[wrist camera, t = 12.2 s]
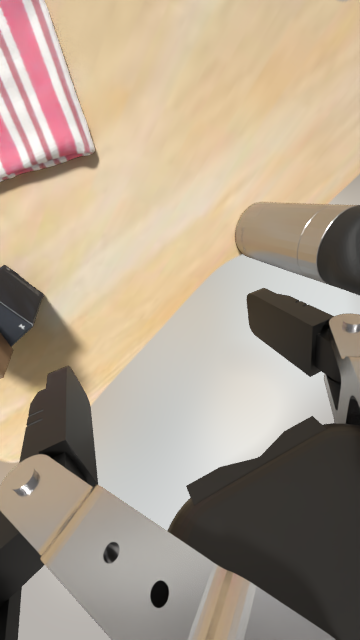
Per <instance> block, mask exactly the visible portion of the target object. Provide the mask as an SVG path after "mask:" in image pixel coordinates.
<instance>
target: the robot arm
mask: <svg viewBox="0 0 360 640" xmlns="http://www.w3.org/2000/svg"><path fill="white" fill-rule="evenodd" d="M235 237H236V244H237V246H238V249H239V250H240V251H241V253H242V254H244V255H245V256H247V257H250V258H253V259H256V260H259V261H261V262H264V263H267V264H270V265H273V266H276V267H279V268H282V269H284V270H287V271H290V272H293V273H296V274H299V275H302V276H305V277H308V278H311V279H314V280H317V281H320V282H323V283H326V284H329V285H332V286H335V287H338V288H341V289H344V290H346V291H349V292H352V293H355V294H358V295H360V205H330V204H300V203H273V202H259V203H255V204H253V205H251V206H250V207H248V208H247V209H246V210H245V211H244V213H243V214H242V215H241V217H240V219H239V221H238V224H237V227H236V233H235ZM247 308H248V318H249V325H250V328H251V330H252V332H253V333H254V335H255V336H257V337H258V338H259V339H261V340H262V341H263V342H265V343H266V344H267V345H269V346H270V347H271V348H273V349H274V350H275V351H277V352H278V353H279V354H281V355H282V356H283V357H285V358H286V359H287V360H289V361H290V362H291V363H293V364H294V365H295V366H297V367H298V368H299V369H301V370H302V371H303V372H305V373H306V374H307V375H308V376H310V377H311V376H313V375H315V374H317V373H318V372H320V371H322V372H323V373H325V375H324V381H325V385H326V389H327V393H328V397H329V401H330V405H331V409H332V412H333V416H334V422H335V423H333V424H324V425H322V424H320V423H319V422H318V421H317V420H316V419H315V418H314V417H313V416H311V417H310V418H308V419H306V420H304V421H302V422H301V423H299V424H297V425H295V426H293V427H292V428H290V429H288V430H286V431H284V432H283V433H282V434H281V435H280V436H279V438H278V439H277V440H276V441H275V442H274V443H273V444H272V445H271V446H270V447H269V448H268V449H267V450H266V451H265V452H264V453H263V454H262V455H261V456H260V457H258V458H255V459H251V460H247V461H244V462H239V463H235V464H231V465H228V466H223V467H220V468H218V469H216V470H214V471H212V472H211V473H209V474H207V475H205V476H203V477H202V478H200V479H198V480H196V481H194V482H193V483H191V484H189V485H187V486H186V487H187V489H188V491H189V494H190V497H191V498H190V499H189V500H188V501H187V502H186V503H185V504H184V505H183V506H182V508H181V509H180V510H179V512H178V513H177V514H176V516H175V518H174V519H173V521H172V523H171V525H170V527H169V529H168V531H166V530H165V529H163V528H162V527H160V526H159V525H157V524H156V523H154V522H153V521H151V520H150V519H148V518H147V517H146V516H144V515H143V514H141V513H140V512H138V511H137V510H135V509H134V508H132V507H131V506H129V505H128V504H126V503H124V502H123V501H122V500H120V499H119V498H117V497H116V496H115V495H113V494H111V493H110V492H109V491H107V490H106V489H104V488H103V487H101V486H99V485H98V478H97V468H96V459H95V448H94V438H93V428H92V417H91V407H90V403H89V400H88V397H87V395H86V393H85V391H84V390H83V388H82V386H81V384H80V383H79V381H78V379H77V377H76V376H75V374H74V372H73V370H72V369H71V368H70V367H69V366H66V367H63V368H61V369H58V370H56V371H53V372H51V373H49V374H48V376H47V384H46V389H44V390H41V391H39V392H38V393H37V395H36V396H35V398H34V399H33V401H32V402H31V404H30V409H29V417H28V420H27V427H26V431H25V436H24V441H23V446H22V452H21V457H20V462H19V464H18V465H17V466H15V467H14V468H13V469H12V470H11V471H10V472H9V473H8V475H7V476H6V477H5V478H4V480H3V481H2V483H1V485H0V640H18V628H19V615H20V602H21V589H22V586H23V585H24V584H25V583H26V582H27V581H28V580H29V579H30V578H31V577H32V576H33V575H34V574H35V573H36V572H37V571H39V570H40V569H41V568H42V567H43V565H46V567H47V568H48V569H49V570H50V571H51V572H52V573H53V575H54V576H55V577H56V578H57V579H58V580H59V581H60V582H61V584H62V585H63V586H64V587H65V588H66V589H67V590H68V591H69V593H70V594H71V595H72V596H73V597H74V598H75V599H76V600H77V601H78V603H79V604H80V605H81V606H82V607H83V608H84V609H85V610H86V612H87V613H88V614H89V615H90V616H91V617H92V618H93V619H94V621H95V622H96V623H97V624H98V625H99V626H100V627H101V628H102V630H104V632H105V633H106V634H107V635H108V636H109V637H110V638H111V640H360V315H359V314H340V315H337V316H332V315H330V314H328V313H325V312H323V311H321V310H319V309H317V308H314V307H312V306H310V305H307V304H306V303H303V302H301V301H300V302H299V300H297V299H295V298H293V297H290V296H287V295H281V294H276V293H274V292H272V291H270V290H268V289H265V288H262V289H260V290H257V291H255V292H252V293H250V294H248V295H247Z"/></svg>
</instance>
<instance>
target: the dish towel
mask: <svg viewBox="0 0 360 640" xmlns="http://www.w3.org/2000/svg"><path fill="white" fill-rule="evenodd" d="M94 151H95V147H94V144H93V141H92V139H91V135H90V132H89V128H88V125H87V122H86V119H85V117H84V114H83V112H82V109H81V106H80V103H79V101H78V98H77V95H76V92H75V89H74V86H73V83H72V80H71V78H70V74H69V71H68V68H67V65H66V62H65V59H64V56H63V53H62V50H61V47H60V44H59V40H58V37H57V35H56V32H55V29H54V26H53V23H52V20H51V17H50V14H49V11H48V8H47V6H46V3H45V1H44V0H0V182H1V181H4V180H6V179H11V178H13V177H15V176H17V175H19V174H22V173H26V172H29V171H35V170H40V169H43V168H47V167H51V166H54V165H57V164H60V163H63V162H66V161H69V160H70V159H73V158H76V157H80V156H86V155H91V154H92V153H93V152H94Z"/></svg>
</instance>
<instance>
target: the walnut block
mask: <svg viewBox="0 0 360 640" xmlns="http://www.w3.org/2000/svg"><path fill="white" fill-rule="evenodd" d="M12 353H13V349H12V348H11V346H10V345H9V344H8V342H7V341H6V340H5V338H4V337H3V335H2V334H1V333H0V379H1V378H3V377H4V375H5V372H6V369H7V367H8V364H9V361H10V358H11V355H12Z"/></svg>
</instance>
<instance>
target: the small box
mask: <svg viewBox="0 0 360 640" xmlns="http://www.w3.org/2000/svg"><path fill="white" fill-rule="evenodd" d="M42 298H43V293H41V292H40V291H39V290H37V289H36V288H35V287H33V286H32V285H30V284H29V283H28V282H26V281H25V280H24V279H23V278H21V277H20V276H19V275H18V274H17V273H16V272H14V271H13V270H11V269H10V268H8V267H7V266H6V265H3V266H2V267H0V333H1V334H2V335H3V337H4V338H5V340H6V341H7V342H8V344H9V345H10V346H12V345H14V344H15V343H16V342H17V341H18V340H19V339H20V338H21V337H22V336H23V335H24V334H25V333H26V332H28V331H29V330H30V329H31V328H32V327H33V325H34V322H35V319H36V316H37V313H38V309H39V306H40V303H41V301H42Z"/></svg>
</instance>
